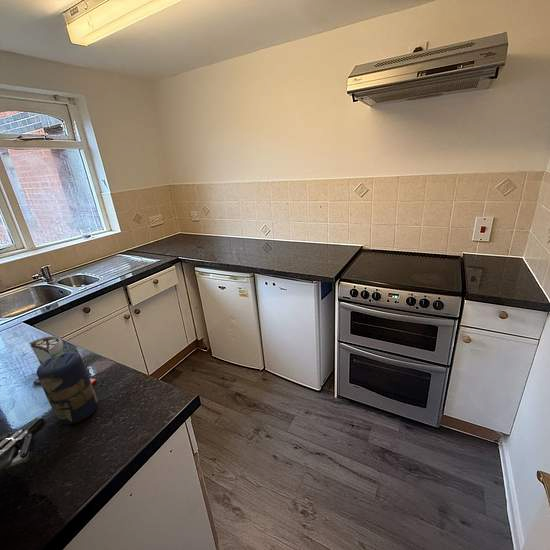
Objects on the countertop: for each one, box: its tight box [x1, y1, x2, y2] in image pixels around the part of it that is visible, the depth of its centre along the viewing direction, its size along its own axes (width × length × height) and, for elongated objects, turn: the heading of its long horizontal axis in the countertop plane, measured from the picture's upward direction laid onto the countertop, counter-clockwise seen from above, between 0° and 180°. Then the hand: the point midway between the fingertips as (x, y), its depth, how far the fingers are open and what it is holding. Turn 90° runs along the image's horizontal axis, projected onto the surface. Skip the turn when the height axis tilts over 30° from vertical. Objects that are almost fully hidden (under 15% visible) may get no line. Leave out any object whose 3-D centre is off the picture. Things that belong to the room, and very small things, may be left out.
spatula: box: [32, 378, 97, 386], centre depth 92 cm, size 20×5×1 cm, turn 80°
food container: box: [29, 336, 65, 365], centre depth 100 cm, size 12×6×10 cm, turn 63°
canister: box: [36, 351, 99, 426], centre depth 77 cm, size 10×10×18 cm
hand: (41, 420), depth 70 cm, fingers closed
